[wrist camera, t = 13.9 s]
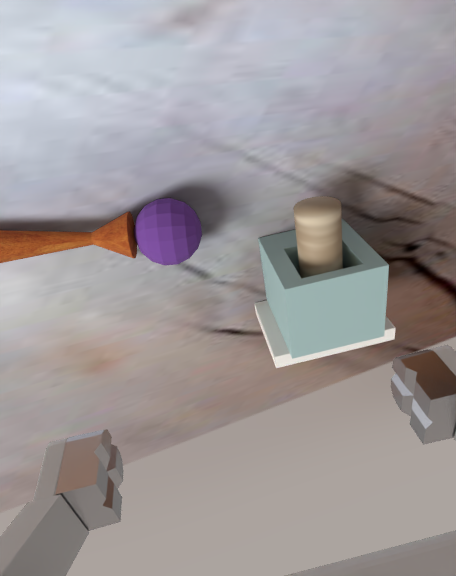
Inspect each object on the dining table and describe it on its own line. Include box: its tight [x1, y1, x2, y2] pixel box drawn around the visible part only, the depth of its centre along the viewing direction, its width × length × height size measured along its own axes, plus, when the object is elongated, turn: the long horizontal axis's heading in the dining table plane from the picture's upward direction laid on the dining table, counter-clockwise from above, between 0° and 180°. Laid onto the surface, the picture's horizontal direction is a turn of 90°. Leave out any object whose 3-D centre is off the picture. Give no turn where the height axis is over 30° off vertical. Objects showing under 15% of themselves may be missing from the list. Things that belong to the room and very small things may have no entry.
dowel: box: [294, 196, 343, 279], centre depth 38 cm, size 10×4×4 cm, turn 10°
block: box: [258, 219, 389, 359], centre depth 40 cm, size 8×9×10 cm
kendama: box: [0, 198, 202, 265], centre depth 36 cm, size 6×6×20 cm
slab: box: [254, 300, 395, 368], centre depth 43 cm, size 2×12×9 cm, turn 100°
